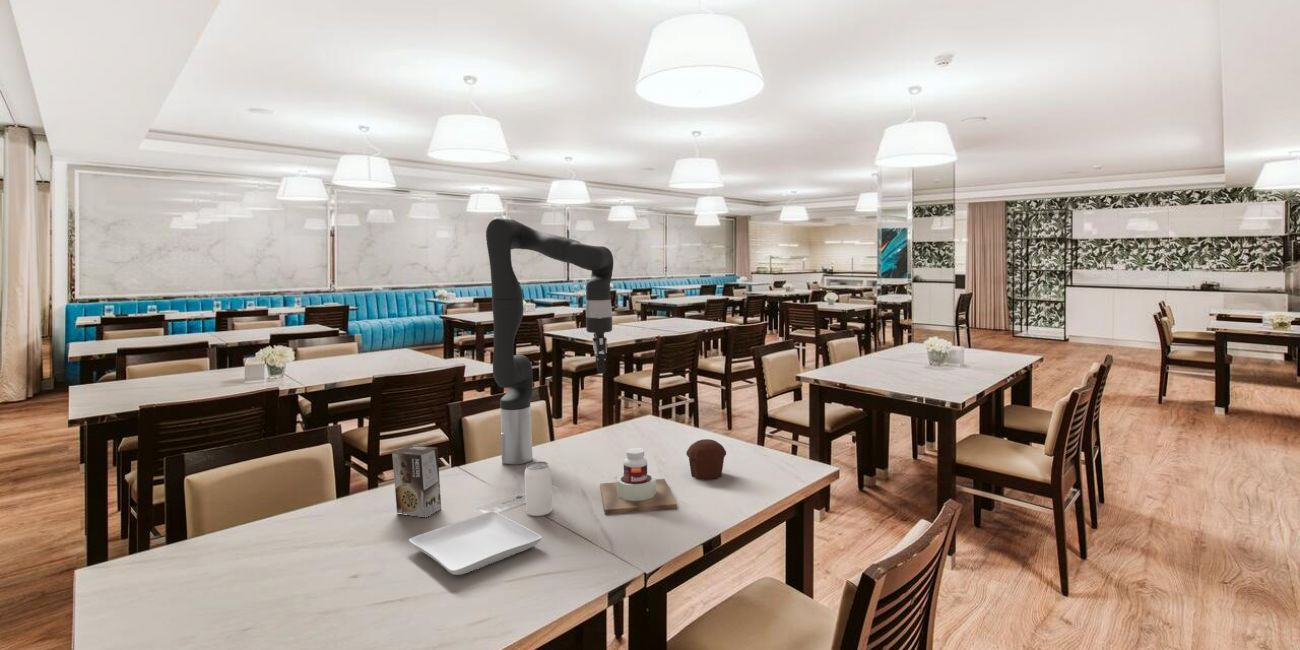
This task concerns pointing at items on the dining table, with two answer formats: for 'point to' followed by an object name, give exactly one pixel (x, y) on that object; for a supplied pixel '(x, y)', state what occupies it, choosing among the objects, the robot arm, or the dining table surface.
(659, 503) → the walnut board
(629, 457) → the pill bottle
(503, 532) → the salad plate
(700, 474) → the muffin
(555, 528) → the dining table surface
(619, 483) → the pale green bowl
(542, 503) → the can
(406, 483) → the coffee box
